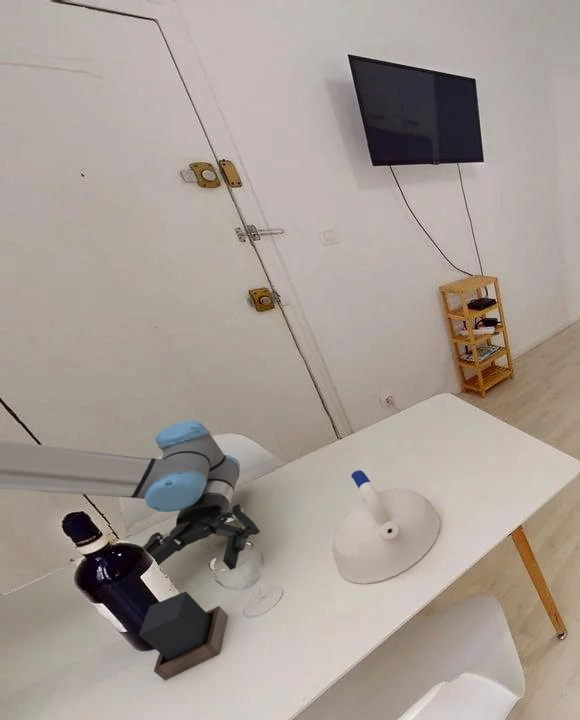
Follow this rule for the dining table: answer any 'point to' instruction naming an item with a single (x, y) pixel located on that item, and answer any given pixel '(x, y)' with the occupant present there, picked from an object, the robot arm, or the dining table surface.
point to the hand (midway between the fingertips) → (179, 584)
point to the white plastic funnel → (383, 533)
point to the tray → (199, 654)
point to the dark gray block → (176, 626)
